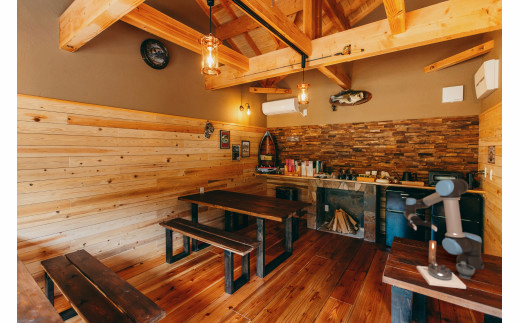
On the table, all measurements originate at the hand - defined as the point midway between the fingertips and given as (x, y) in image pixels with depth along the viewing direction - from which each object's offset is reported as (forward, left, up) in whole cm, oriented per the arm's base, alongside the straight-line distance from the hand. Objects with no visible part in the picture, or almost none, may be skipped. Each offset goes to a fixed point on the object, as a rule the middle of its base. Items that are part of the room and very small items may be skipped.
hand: (426, 228), depth 176 cm
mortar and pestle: (-17, +17, -26) cm, 36 cm away
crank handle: (0, +19, -24) cm, 30 cm away
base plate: (0, +22, -26) cm, 34 cm away
